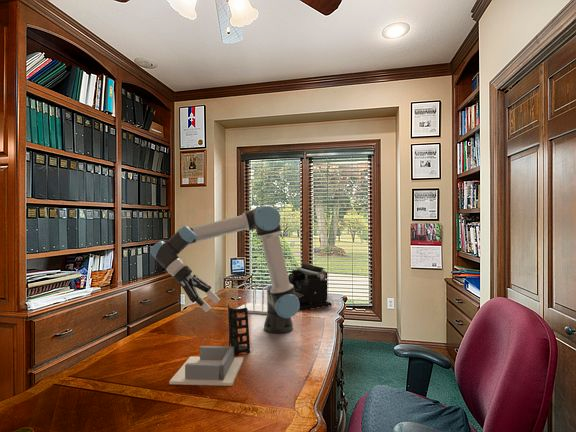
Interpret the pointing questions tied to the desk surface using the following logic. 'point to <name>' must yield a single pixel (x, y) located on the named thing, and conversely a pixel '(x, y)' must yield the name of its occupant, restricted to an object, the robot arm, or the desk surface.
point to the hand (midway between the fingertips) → (213, 305)
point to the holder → (234, 330)
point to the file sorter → (253, 306)
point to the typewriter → (310, 286)
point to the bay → (210, 367)
